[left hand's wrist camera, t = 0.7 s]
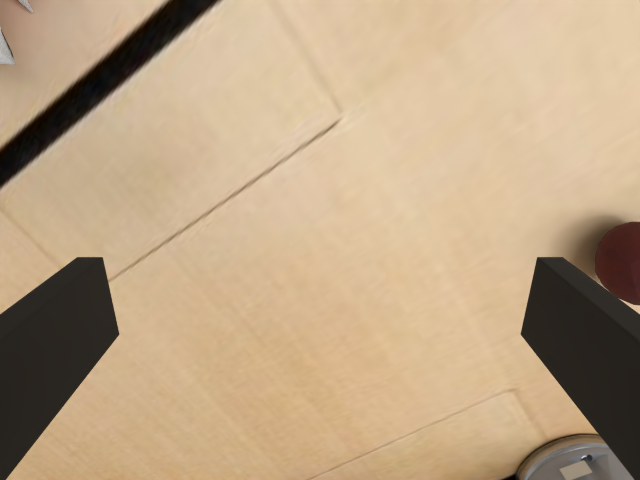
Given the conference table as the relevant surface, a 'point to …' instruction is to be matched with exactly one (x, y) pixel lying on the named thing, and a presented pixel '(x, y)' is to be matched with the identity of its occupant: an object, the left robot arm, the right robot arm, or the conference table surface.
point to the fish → (3, 54)
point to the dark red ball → (620, 262)
